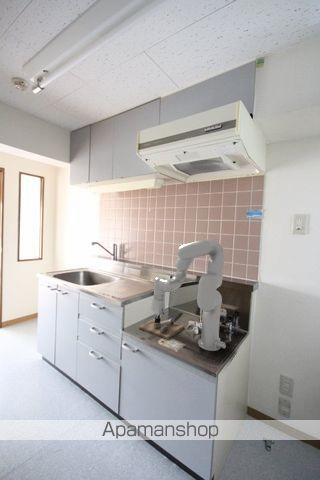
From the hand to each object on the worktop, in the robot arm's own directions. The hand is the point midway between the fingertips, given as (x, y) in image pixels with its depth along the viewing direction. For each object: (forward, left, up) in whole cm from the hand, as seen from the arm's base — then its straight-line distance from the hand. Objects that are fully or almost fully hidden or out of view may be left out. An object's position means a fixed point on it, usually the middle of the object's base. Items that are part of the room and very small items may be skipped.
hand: (157, 323), depth 145 cm
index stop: (-8, +4, -3) cm, 10 cm away
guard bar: (-4, -3, -1) cm, 5 cm away
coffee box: (-24, -25, -3) cm, 35 cm away
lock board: (-3, -1, -3) cm, 4 cm away
